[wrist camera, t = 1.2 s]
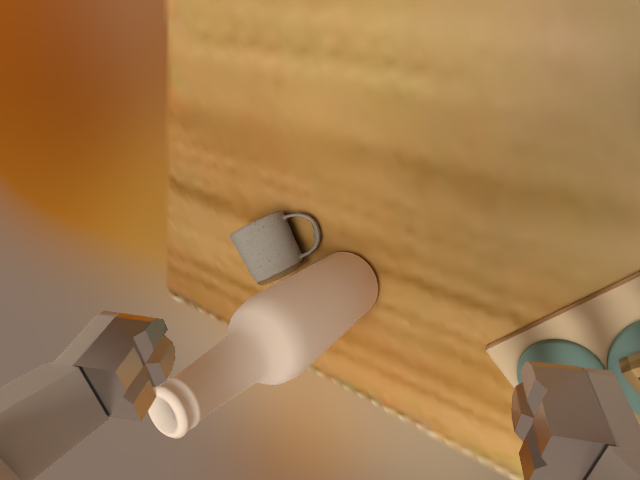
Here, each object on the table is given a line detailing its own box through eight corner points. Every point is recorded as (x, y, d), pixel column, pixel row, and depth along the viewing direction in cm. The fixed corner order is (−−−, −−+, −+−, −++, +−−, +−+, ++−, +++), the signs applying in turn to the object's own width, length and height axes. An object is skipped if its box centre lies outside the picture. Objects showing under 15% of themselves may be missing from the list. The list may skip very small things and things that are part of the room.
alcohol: (364, 325, 54) (193, 495, 29) (312, 290, 57) (116, 415, 32) (392, 272, 50) (222, 413, 25) (334, 237, 53) (132, 332, 28)
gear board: (681, 250, 36) (706, 276, 30) (817, 406, 34) (874, 468, 28) (487, 345, 47) (475, 378, 40) (580, 468, 44) (583, 522, 38)
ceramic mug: (278, 277, 60) (245, 294, 53) (254, 227, 60) (218, 238, 53) (334, 251, 54) (305, 267, 48) (307, 195, 54) (274, 204, 48)
